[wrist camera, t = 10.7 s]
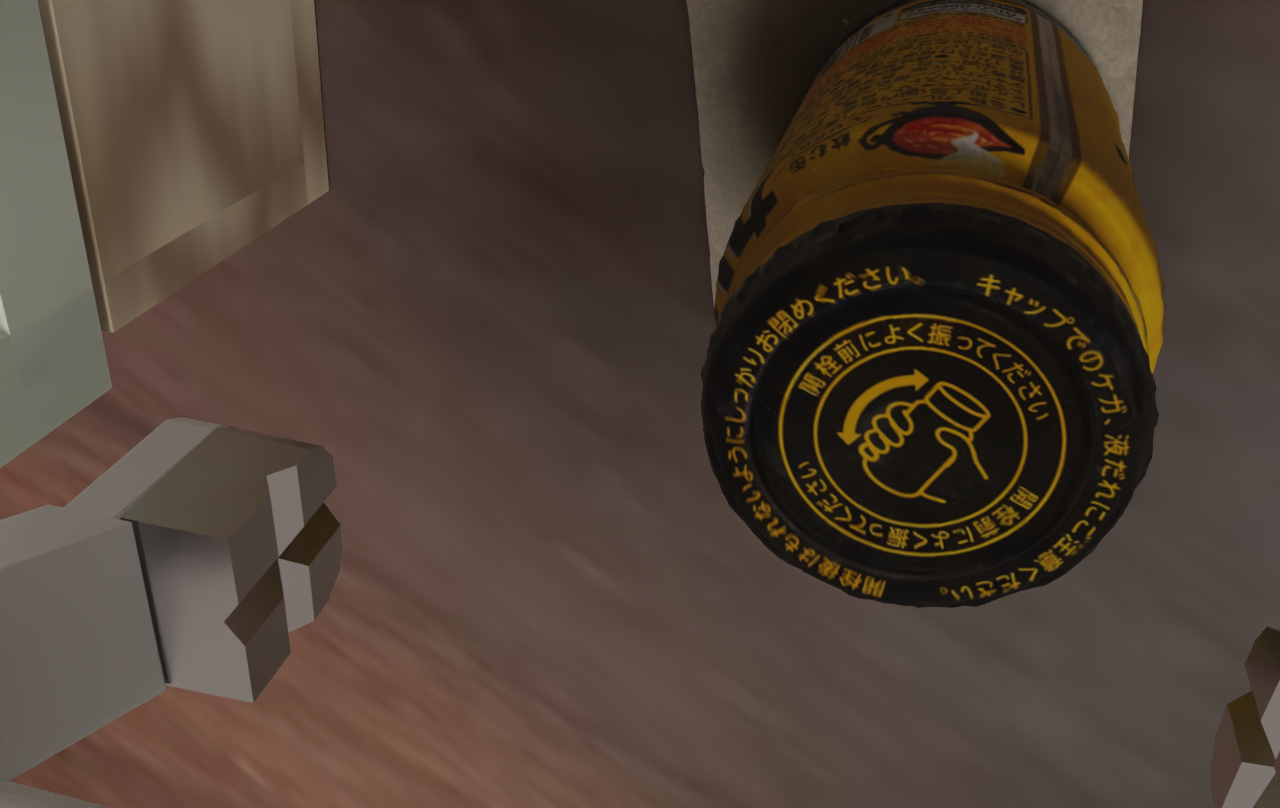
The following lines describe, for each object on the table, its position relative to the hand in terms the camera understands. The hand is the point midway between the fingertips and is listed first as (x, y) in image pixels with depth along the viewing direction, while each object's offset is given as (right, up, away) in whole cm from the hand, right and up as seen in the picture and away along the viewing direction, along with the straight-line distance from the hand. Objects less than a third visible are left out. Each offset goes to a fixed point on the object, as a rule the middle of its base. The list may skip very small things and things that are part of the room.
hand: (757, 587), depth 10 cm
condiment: (+4, +7, +14) cm, 16 cm away
